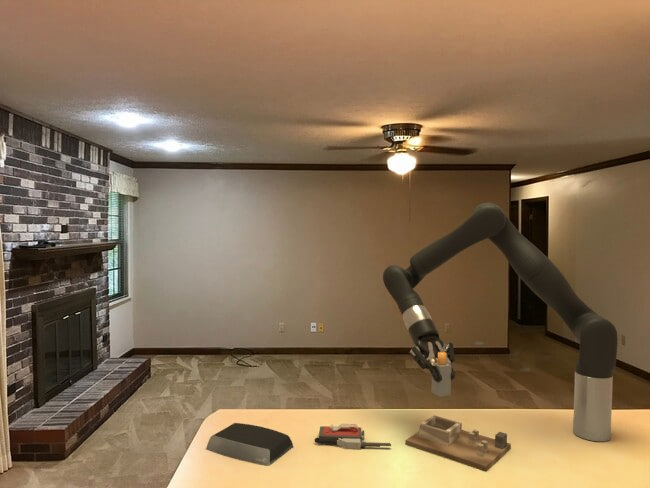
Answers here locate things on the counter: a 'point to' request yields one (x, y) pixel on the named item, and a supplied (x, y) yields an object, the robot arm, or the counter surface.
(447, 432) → the board
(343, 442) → the walkie-talkie
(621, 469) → the counter surface
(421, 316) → the robot arm
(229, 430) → the external hard drive
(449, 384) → the connector plug
